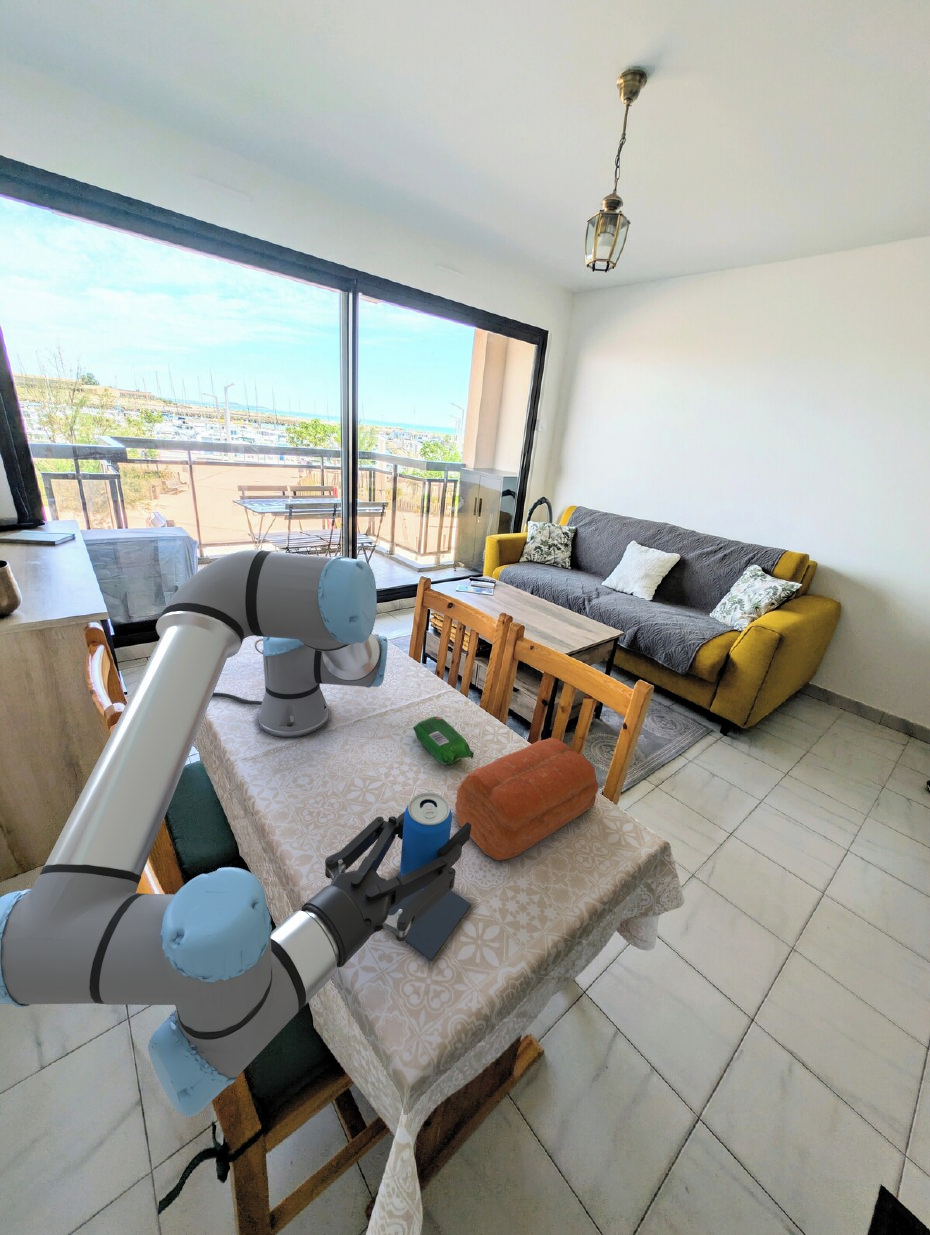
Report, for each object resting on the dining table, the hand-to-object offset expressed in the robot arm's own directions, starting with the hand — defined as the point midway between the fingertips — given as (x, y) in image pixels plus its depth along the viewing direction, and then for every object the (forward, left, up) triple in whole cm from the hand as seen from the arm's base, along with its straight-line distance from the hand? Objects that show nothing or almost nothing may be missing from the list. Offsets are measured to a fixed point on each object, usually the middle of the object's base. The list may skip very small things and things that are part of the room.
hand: (448, 817), depth 69 cm
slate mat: (0, -5, -14) cm, 15 cm away
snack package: (-19, +27, -14) cm, 36 cm away
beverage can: (0, -5, -7) cm, 8 cm away
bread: (+4, +23, -14) cm, 27 cm away
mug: (-75, +27, -14) cm, 81 cm away
